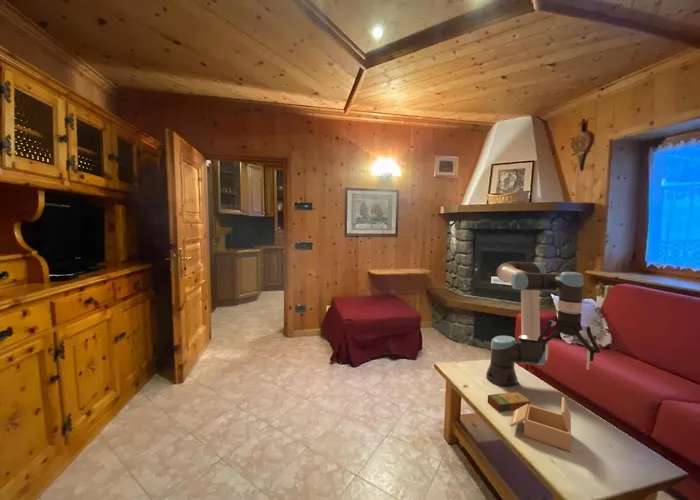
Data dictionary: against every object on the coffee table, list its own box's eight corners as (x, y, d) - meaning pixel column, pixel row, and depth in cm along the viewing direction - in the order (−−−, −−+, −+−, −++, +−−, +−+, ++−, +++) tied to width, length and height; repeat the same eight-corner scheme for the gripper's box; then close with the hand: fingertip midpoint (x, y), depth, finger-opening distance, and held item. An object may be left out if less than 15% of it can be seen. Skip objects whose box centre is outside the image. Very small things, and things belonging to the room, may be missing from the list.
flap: (568, 414, 124) (561, 397, 125) (570, 414, 124) (564, 397, 125) (567, 431, 114) (561, 412, 115) (570, 431, 114) (563, 412, 114)
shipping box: (514, 415, 136) (515, 399, 135) (569, 433, 125) (570, 415, 124) (509, 431, 125) (510, 413, 125) (569, 452, 114) (570, 432, 113)
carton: (530, 409, 142) (530, 400, 141) (498, 413, 139) (499, 404, 138) (517, 399, 150) (517, 391, 149) (487, 402, 147) (487, 394, 146)
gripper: (531, 308, 127) (529, 358, 128) (611, 319, 112) (607, 376, 113) (534, 304, 133) (531, 352, 134) (610, 314, 118) (606, 369, 119)
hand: (566, 363), depth 124 cm, fingers open, 13 cm apart
